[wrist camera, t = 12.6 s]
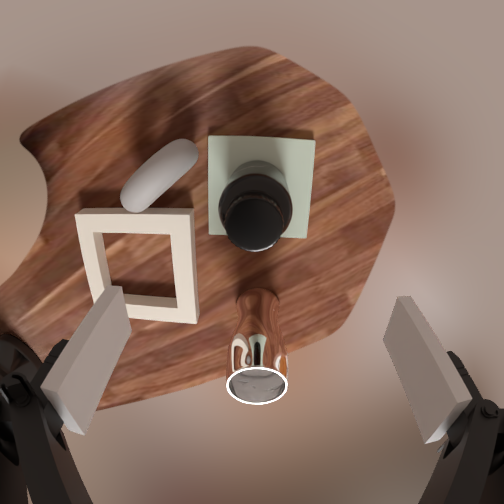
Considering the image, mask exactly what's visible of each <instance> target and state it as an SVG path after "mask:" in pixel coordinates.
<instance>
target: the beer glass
mask: <svg viewBox="0 0 504 504" xmlns="http://www.w3.org/2000/svg"><path fill="white" fill-rule="evenodd" d="M236 309H237V314H238V321H237V324H236V327H235V330H234V332H233V335H232V337H231V340H230V344H229V347H228V353H227V362H226V389H227V391H228V392H229V394H230V395H231V396H232V397H234V398H235V399H237V400H239V401H241V402H244V403H249V404H265V403H270V402H273V401H275V400H277V399H279V398H281V397H282V396H283V395H284V394H285V393H286V391H287V388H288V356H287V348H286V344H285V341H284V338H283V335H282V332H281V329H280V327H279V324H278V318H277V317H278V312H279V301H278V299H277V297H276V296H275V294H274V293H272V292H271V291H269V290H267V289H263V288H253V289H249V290H247V291H245V292H243V293H242V294H241V295H240V296H239V298H238V300H237V304H236Z"/></svg>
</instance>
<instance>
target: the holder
mask: <svg viewBox="0 0 504 504" xmlns="http://www.w3.org/2000/svg"><path fill="white" fill-rule="evenodd" d="M75 219H76V225H77V230H78V236H79V241H80V246H81V251H82V256H83V260H84V265H85V269H86V274H87V278H88V282H89V286H90V290H91V294H92V297H93V301H94V304H95V302H96V301H97V299H98V298H99V297H100V295H101V294H102V292H103V291H104V290H105V288H106V287H107V286H108V285H111V286H112V284H111V279H110V274H109V269H108V264H107V259H106V253H105V248H104V242H103V236H102V232H105V233H146V234H170V235H171V247H172V259H173V270H174V279H175V289H176V298H170V297H157V296H144V295H133V294H123V295H124V300H125V304H126V309H127V313H128V317H129V318H137V319H147V320H157V321H167V322H179V323H192V324H197V321H198V317H199V300H198V285H197V269H196V250H195V228H194V208H146V209H145V210H143V211H141V212H138V213H137V212H130V211H128V210H126V209H125V208H83V209H82V210H80V211H79V212H78V213H76V214H75Z"/></svg>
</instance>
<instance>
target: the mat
mask: <svg viewBox="0 0 504 504" xmlns="http://www.w3.org/2000/svg"><path fill="white" fill-rule="evenodd" d="M314 153H315V140H308V139H296V138H281V137H262V136H224V135H210V136H208V209H209V234H212V235H227V234H226V230H225V229H224V227H223V226H222V224H221V221H220V218H219V213H218V205H219V200H220V197H221V194H222V192H223V190H224V188H225V186H226V184H227V182H228V180H229V178H230V176H231V175H232V173H233V172H234V171H235V169H237V168H238V167H239V166H240V165H242V164H244V163H246V162H249V161H253V160H261V161H266V162H269V163H271V164H273V165H274V166H276V167H277V168H278V169H279V170H280V171H281V172H282V174H283V175H284V177H285V179H286V182H287V185H288V189H289V193H290V196H291V200H292V206H293V213H292V219H291V222H290V224H289V226H288V228H287V229H286V231H285V232H284V233H283V234H282V235H281V236H280V237H288V238H306V237H307V228H308V219H309V209H310V199H311V189H312V178H313V166H314Z"/></svg>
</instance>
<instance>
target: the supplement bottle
mask: <svg viewBox="0 0 504 504" xmlns="http://www.w3.org/2000/svg"><path fill="white" fill-rule="evenodd" d="M218 213H219V218H220V221H221V224H222V226H223V227H224V229H225V230H226V234H227V235H228V238H229V239H230V240H231V242H232V243H233V244H235V245H236V246H237V247H239V248H240V249H244V250H245V251H251V252H254V251H255V252H259V251H264V250H265V249H269V248H270V247H272V246H273V245H274V244H275V243H277V241H278V239H280V236H281V235H282V234H283V233H284V232H285V231H286V229H287V228H288V226H289V224H290V222H291V219H292V213H293V206H292V200H291V196H290V193H289V189H288V185H287V182H286V179H285V177H284V175H283V174H282V172H281V171H280V170H279V169H278V168H277V167H276V166H274V165H273V164H271V163H269V162H266V161H261V160H253V161H249V162H246V163H244V164H242V165H240V166H239V167H238V168H237V169H235V171H234V172H233V173H232V175H231V176H230V178H229V180H228V182H227V184H226V186H225V188H224V190H223V192H222V194H221V197H220V200H219V205H218Z"/></svg>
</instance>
